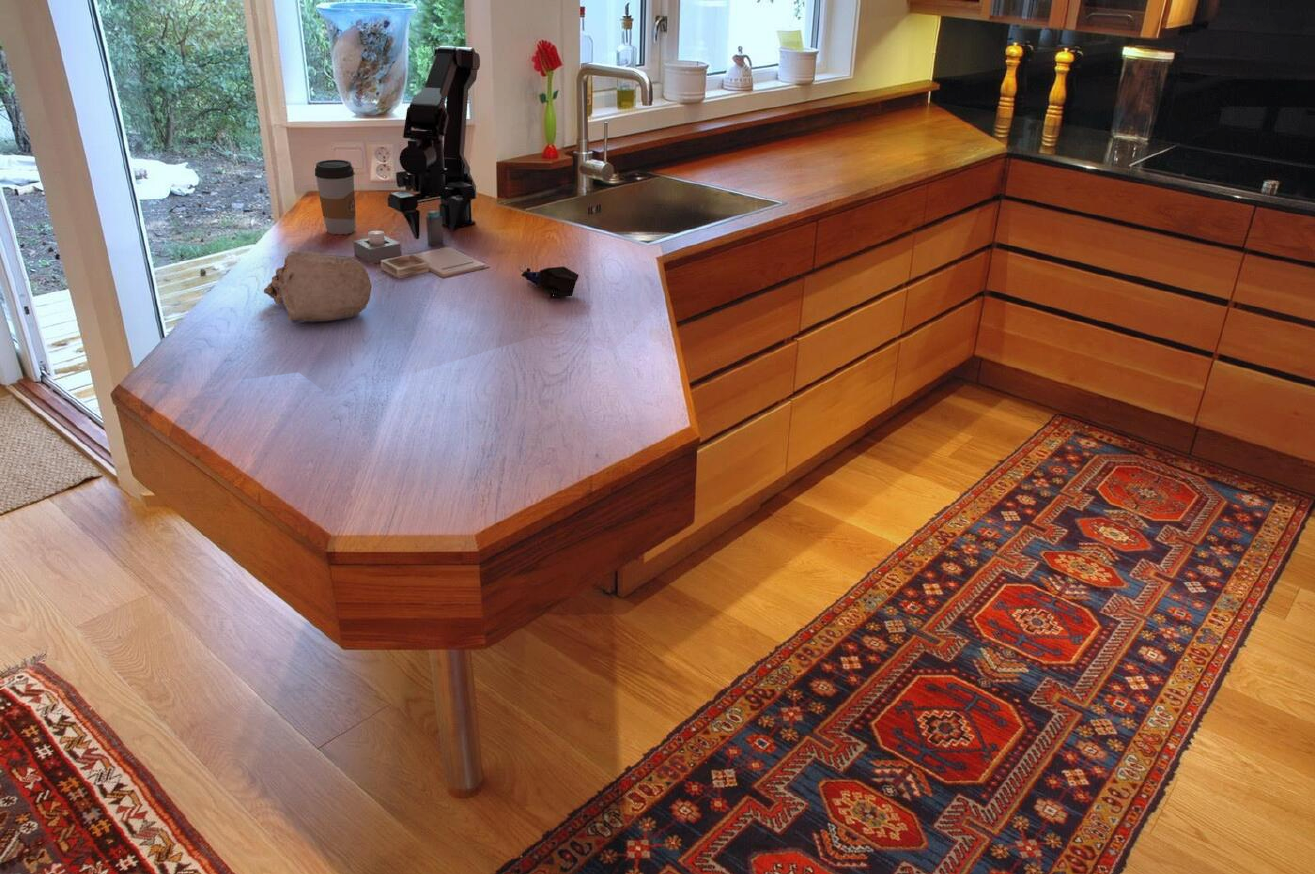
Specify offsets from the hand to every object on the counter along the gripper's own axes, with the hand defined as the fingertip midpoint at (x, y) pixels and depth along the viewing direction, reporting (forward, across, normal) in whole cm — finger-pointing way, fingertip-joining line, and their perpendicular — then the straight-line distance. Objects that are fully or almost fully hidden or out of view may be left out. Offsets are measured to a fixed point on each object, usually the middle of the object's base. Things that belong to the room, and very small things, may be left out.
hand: (435, 235), depth 220 cm
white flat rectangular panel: (+2, +5, +12) cm, 13 cm away
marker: (+2, 0, 0) cm, 2 cm away
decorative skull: (+2, +38, +22) cm, 44 cm away
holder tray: (+2, +14, +11) cm, 18 cm away
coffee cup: (+2, +12, -20) cm, 23 cm away
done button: (0, +14, 0) cm, 14 cm away
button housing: (+2, +14, 0) cm, 14 cm away
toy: (+2, -2, +38) cm, 38 cm away
